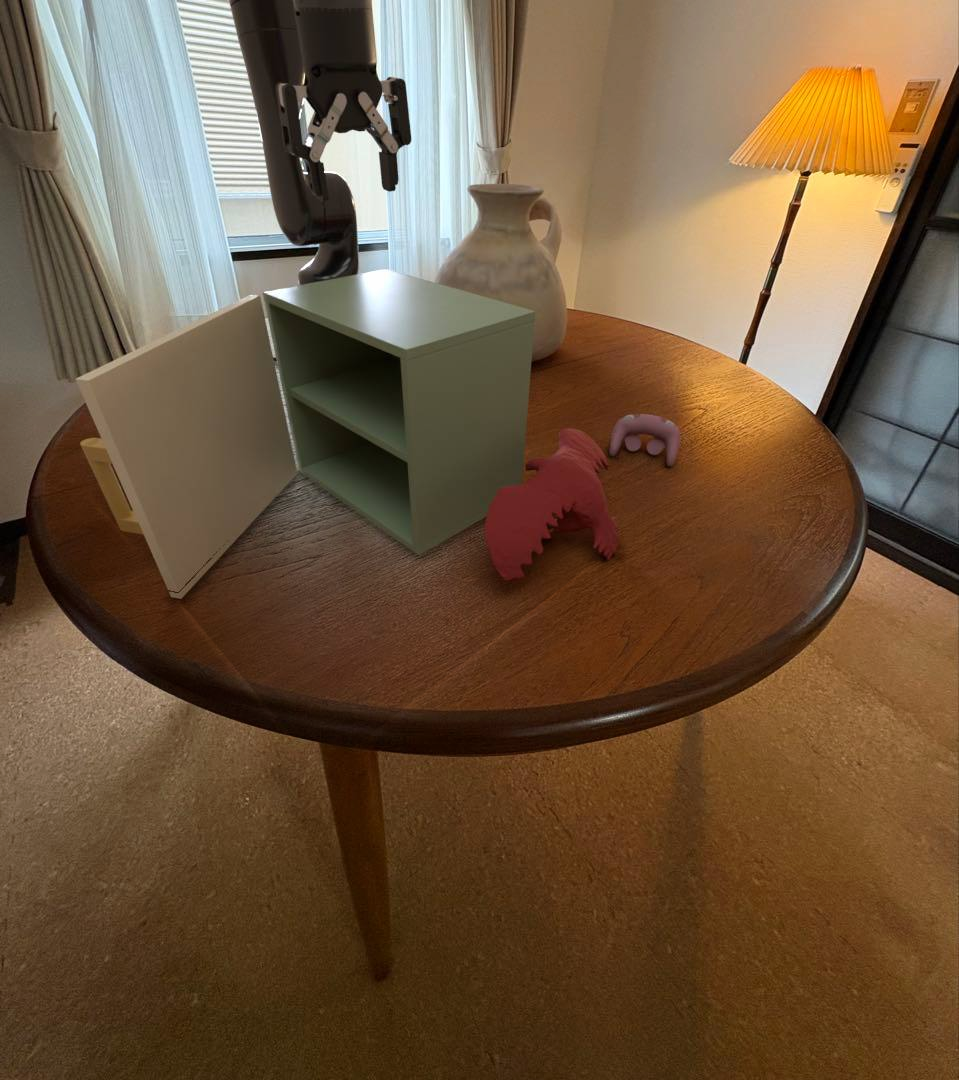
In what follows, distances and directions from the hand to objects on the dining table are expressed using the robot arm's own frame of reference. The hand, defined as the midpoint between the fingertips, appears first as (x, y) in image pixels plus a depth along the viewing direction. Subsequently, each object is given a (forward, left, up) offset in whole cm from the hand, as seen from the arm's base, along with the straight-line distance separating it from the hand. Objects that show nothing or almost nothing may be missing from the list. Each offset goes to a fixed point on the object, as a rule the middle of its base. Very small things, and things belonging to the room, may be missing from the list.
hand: (356, 195), depth 66 cm
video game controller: (+29, +27, -33) cm, 52 cm away
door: (+2, -27, -33) cm, 42 cm away
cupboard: (+11, -4, -33) cm, 35 cm away
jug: (-17, +45, -33) cm, 58 cm away
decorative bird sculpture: (+34, +2, -33) cm, 48 cm away
